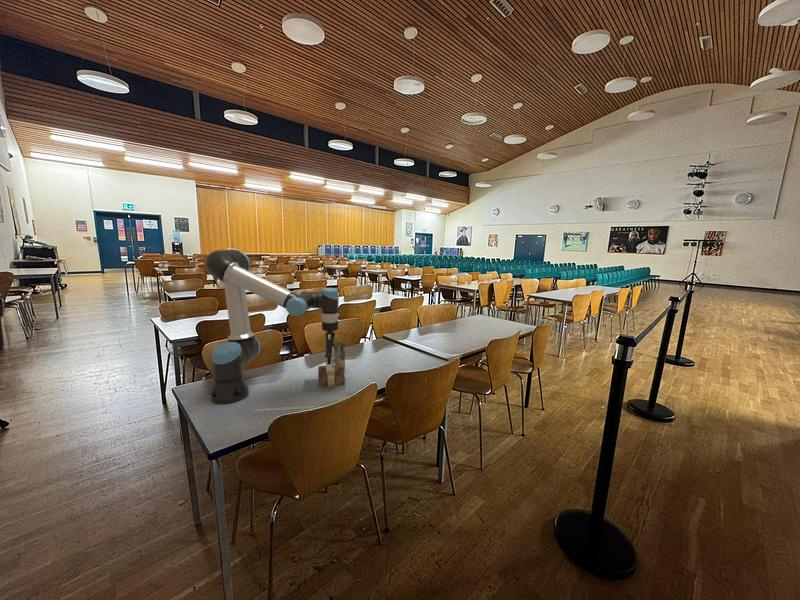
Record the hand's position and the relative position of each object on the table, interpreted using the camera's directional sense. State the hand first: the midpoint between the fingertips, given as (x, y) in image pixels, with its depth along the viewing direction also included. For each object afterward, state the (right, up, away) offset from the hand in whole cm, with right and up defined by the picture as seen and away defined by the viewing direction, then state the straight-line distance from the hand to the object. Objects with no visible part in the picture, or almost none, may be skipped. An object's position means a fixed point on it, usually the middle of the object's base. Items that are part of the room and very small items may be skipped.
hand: (330, 364), depth 159 cm
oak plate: (0, -10, +2) cm, 10 cm away
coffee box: (0, -8, +17) cm, 19 cm away
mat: (-3, -11, +1) cm, 11 cm away
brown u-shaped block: (0, -10, +2) cm, 10 cm away
